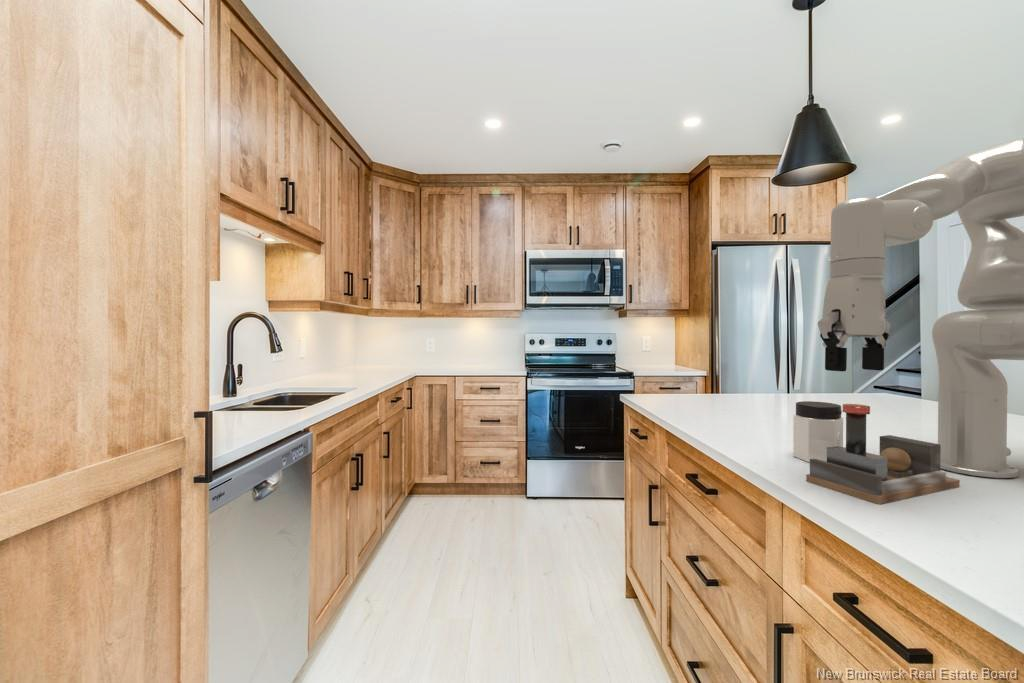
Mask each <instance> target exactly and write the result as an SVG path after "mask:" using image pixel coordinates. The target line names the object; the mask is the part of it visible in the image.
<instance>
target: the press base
mask: <svg viewBox="0 0 1024 683" xmlns="http://www.w3.org/2000/svg"><path fill="white" fill-rule="evenodd" d="M892 447H893V448H899V449H901V450H903V451H905V452H906V453H907V454H908V455H909V456H910V459H911V465H910V467H909V468H908V469H907V470H905V471H903V472H896V471H892V470H888V469H887V481H883V482H882V476H878V475H875V474H871V473H867V472H863V471H860V470H856V469H852V468H848V467H845V466H841V465H837V464H833V463H829V462H826V461H822V460H818V459H810V462H809V473H808V474H806V475H805V477H806V479H805V480H806V482H808V483H811V484H814V485H817V486H820V485H821V486H820V487H823V486H824V488H826V487H827V489H829V488H830V490H833V491H836V492H839V491H840V492H839V493H842V492H843V494H845V493H846V495H848V494H849V496H851V495H852V496H851V497H854V496H855V498H858V499H861V500H865V501H868V502H870V501H871V502H870V503H873V502H874V503H873V504H876V503H877V505H879V504H880V505H884V504H888V502H889V503H892V502H898V501H901V499H902V500H906V499H905V498H907V499H911V498H915V497H914V496H916V497H919V496H918V495H920V496H923V494H925V495H928V494H927V493H929V494H933V493H932V492H934V493H937V492H936V491H938V492H941V491H940V490H943V491H945V489H947V490H951V489H950V488H952V489H955V487H956V488H960V487H959V486H961V484H960V481H961V480H960V479H958V478H953V477H950V476H949V477H948V476H947V472H946V471H942V470H941V468H940V465H941V444H938V443H934V442H929V441H923V440H919V439H914V438H907V437H902V436H896V435H892V434H887V435H880V436H879V455H880V454H881V452H882V451H883V450H885V449H887V448H892ZM910 497H911V498H910ZM897 500H898V501H897ZM883 503H884V504H883Z"/></svg>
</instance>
